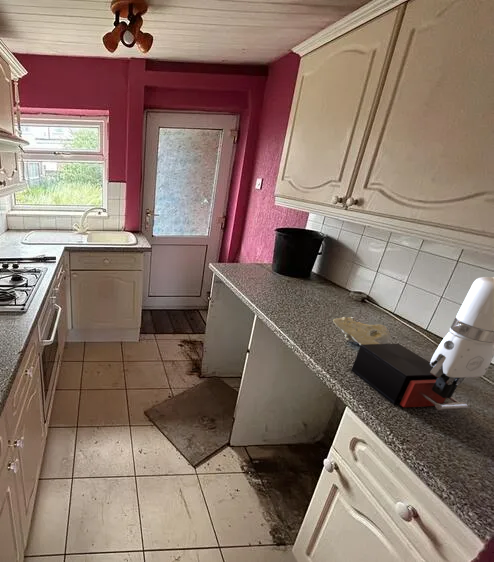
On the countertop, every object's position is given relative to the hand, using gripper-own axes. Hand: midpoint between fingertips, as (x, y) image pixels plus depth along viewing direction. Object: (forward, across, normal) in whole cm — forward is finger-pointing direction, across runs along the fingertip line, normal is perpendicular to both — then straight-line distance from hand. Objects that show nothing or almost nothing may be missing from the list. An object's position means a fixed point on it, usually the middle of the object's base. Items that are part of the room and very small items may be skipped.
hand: (440, 394), depth 78 cm
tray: (+6, 0, +6) cm, 9 cm away
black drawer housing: (+7, 0, +12) cm, 14 cm away
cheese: (+7, +8, +33) cm, 34 cm away
